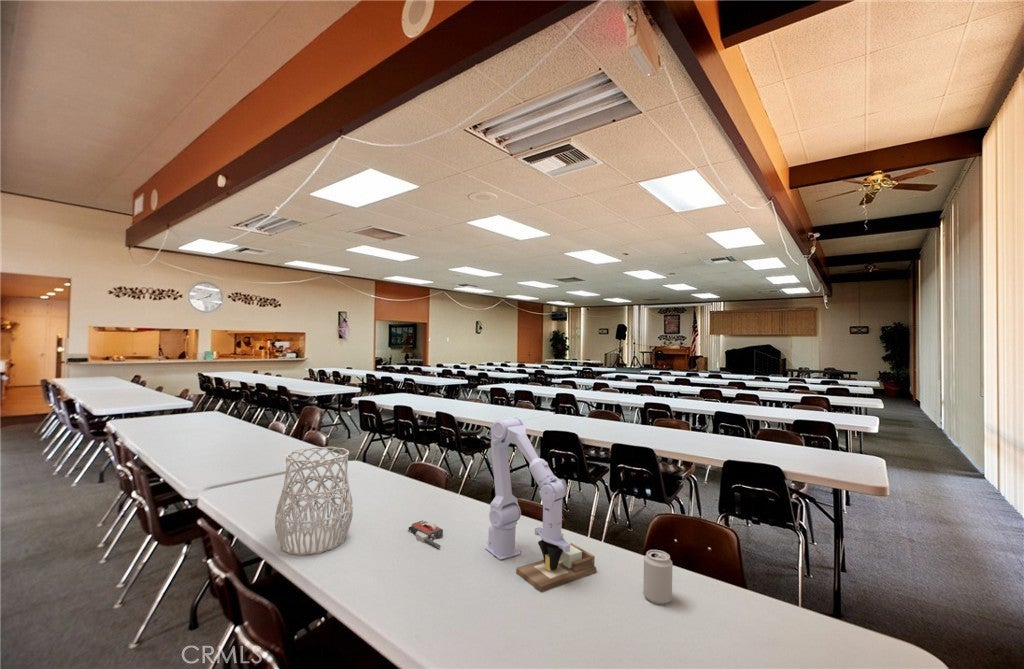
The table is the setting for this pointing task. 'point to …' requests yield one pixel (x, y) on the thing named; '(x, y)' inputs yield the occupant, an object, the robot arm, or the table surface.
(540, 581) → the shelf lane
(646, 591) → the can
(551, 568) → the robot arm
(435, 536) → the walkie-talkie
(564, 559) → the block
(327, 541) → the vase
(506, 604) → the table surface
